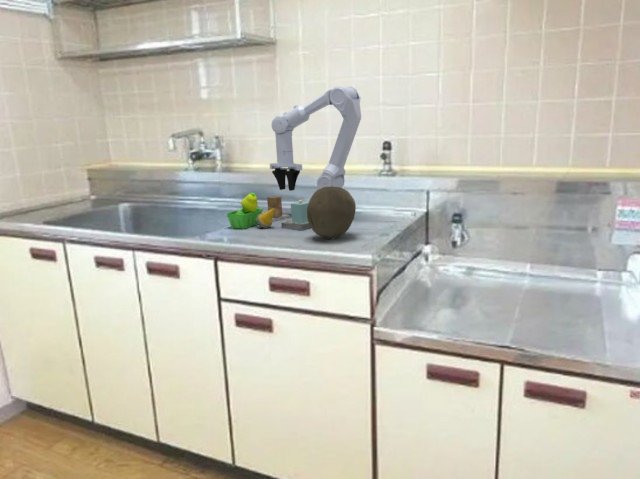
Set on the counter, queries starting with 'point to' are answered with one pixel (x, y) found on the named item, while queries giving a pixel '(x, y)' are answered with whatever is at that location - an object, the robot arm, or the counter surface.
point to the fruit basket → (245, 213)
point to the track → (280, 217)
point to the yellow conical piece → (265, 219)
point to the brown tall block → (275, 205)
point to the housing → (299, 212)
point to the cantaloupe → (331, 212)
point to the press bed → (296, 225)
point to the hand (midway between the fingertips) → (287, 189)
